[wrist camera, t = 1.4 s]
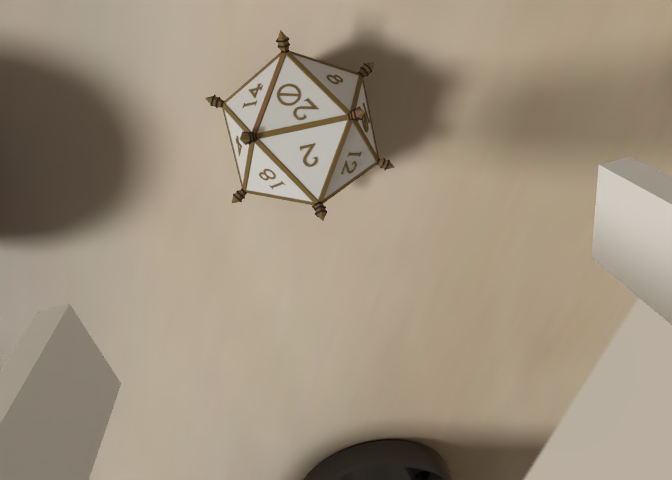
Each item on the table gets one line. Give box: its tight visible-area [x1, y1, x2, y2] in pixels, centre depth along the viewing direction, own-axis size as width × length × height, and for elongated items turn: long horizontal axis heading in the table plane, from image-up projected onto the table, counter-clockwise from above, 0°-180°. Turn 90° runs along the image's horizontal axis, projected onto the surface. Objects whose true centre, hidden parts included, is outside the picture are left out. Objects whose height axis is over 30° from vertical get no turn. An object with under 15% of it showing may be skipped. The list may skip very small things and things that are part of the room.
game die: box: [205, 30, 394, 221], centre depth 23 cm, size 9×8×10 cm
